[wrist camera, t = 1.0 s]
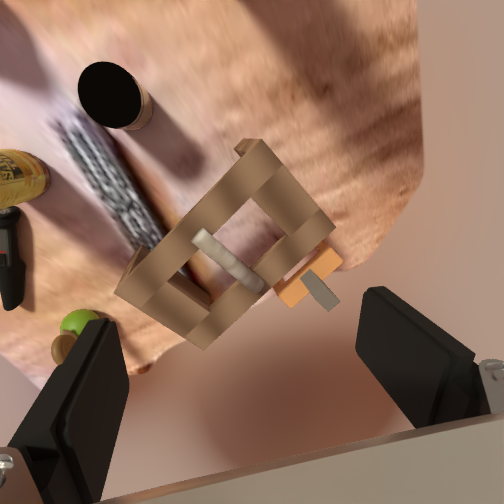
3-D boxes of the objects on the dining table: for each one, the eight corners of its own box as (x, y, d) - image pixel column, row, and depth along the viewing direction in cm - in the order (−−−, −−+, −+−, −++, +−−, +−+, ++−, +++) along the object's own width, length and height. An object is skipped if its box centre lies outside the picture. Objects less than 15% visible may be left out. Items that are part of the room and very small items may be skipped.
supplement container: (145, 76, 35) (130, 57, 26) (159, 126, 37) (149, 123, 29) (97, 82, 34) (66, 65, 26) (114, 133, 36) (91, 132, 28)
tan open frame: (243, 138, 40) (266, 139, 27) (302, 205, 45) (344, 232, 32) (134, 253, 43) (108, 302, 30) (201, 302, 48) (204, 361, 36)
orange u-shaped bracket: (306, 227, 47) (352, 265, 33) (316, 238, 48) (365, 279, 34) (263, 268, 48) (290, 320, 35) (274, 278, 49) (304, 332, 36)
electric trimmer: (4, 299, 42) (-10, 311, 40) (-10, 202, 37) (-27, 208, 34) (32, 300, 43) (21, 312, 40) (22, 206, 38) (9, 212, 35)
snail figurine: (84, 339, 47) (50, 400, 36) (61, 310, 44) (18, 366, 33) (114, 327, 47) (90, 384, 36) (94, 297, 44) (61, 350, 34)
